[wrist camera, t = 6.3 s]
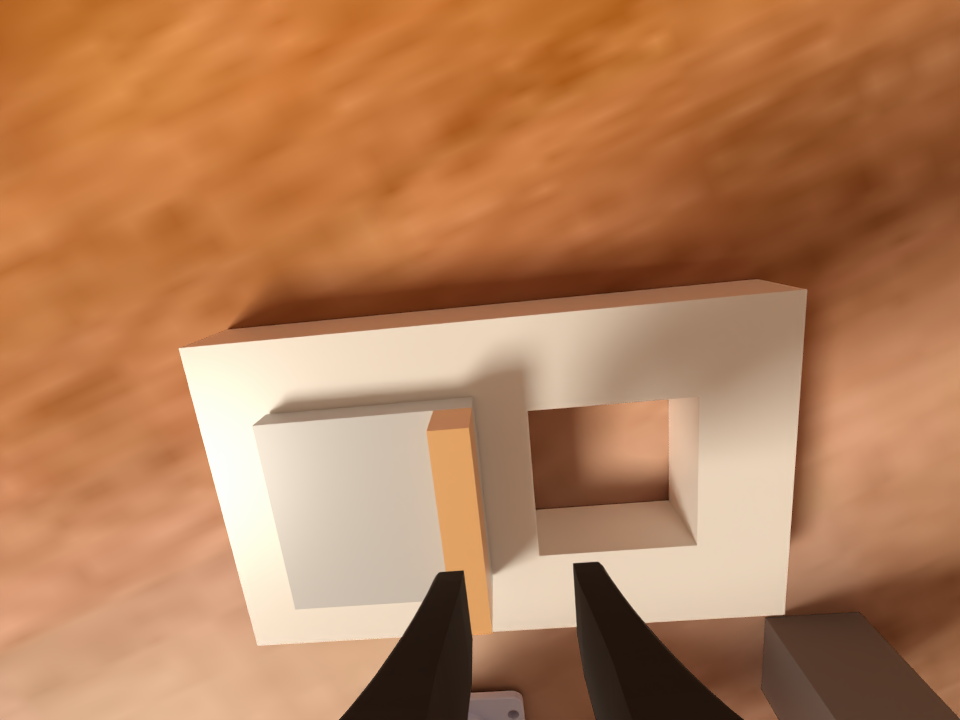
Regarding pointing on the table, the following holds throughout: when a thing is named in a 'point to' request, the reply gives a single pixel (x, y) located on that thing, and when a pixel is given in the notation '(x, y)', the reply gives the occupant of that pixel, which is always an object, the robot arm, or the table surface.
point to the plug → (841, 672)
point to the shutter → (378, 503)
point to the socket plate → (507, 453)
